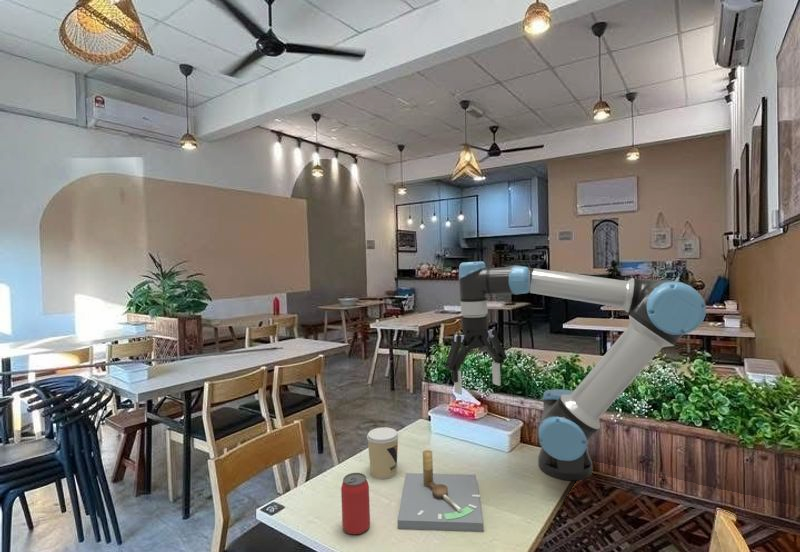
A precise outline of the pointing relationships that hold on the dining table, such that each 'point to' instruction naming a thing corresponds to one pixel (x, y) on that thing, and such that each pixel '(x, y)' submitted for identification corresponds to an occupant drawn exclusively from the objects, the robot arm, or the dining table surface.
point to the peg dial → (438, 489)
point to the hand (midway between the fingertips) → (478, 388)
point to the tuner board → (440, 504)
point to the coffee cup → (383, 452)
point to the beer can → (355, 503)
